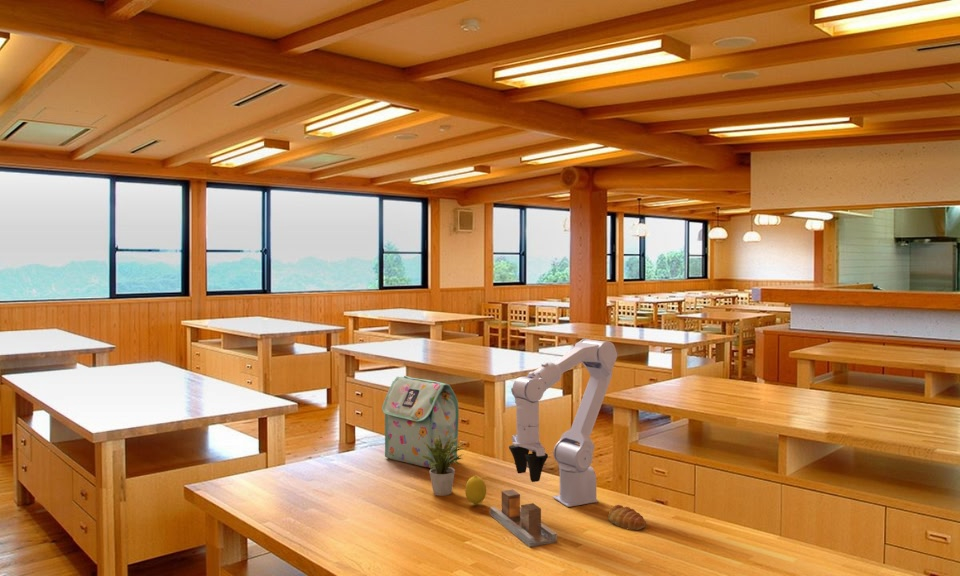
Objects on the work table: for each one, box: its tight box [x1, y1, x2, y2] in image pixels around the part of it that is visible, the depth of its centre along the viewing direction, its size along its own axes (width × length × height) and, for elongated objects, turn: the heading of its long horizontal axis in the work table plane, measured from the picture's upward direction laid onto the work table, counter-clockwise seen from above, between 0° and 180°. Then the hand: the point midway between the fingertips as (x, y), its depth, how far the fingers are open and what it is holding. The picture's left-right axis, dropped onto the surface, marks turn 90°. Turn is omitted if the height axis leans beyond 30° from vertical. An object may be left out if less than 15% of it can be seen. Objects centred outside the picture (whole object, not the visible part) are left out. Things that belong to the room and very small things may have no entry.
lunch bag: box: [381, 375, 460, 469], centre depth 227 cm, size 23×16×27 cm
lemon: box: [464, 475, 487, 506], centre depth 185 cm, size 6×6×8 cm
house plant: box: [421, 435, 469, 497], centre depth 194 cm, size 14×14×16 cm
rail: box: [489, 502, 558, 548], centre depth 169 cm, size 7×22×7 cm, turn 23°
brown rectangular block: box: [501, 489, 521, 519], centre depth 175 cm, size 3×4×6 cm
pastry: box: [607, 504, 647, 531], centre depth 171 cm, size 9×7×4 cm
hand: (528, 476), depth 179 cm, fingers open, 7 cm apart
